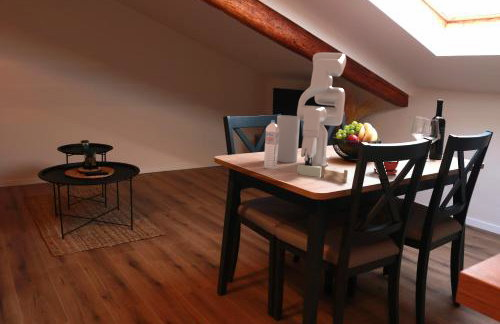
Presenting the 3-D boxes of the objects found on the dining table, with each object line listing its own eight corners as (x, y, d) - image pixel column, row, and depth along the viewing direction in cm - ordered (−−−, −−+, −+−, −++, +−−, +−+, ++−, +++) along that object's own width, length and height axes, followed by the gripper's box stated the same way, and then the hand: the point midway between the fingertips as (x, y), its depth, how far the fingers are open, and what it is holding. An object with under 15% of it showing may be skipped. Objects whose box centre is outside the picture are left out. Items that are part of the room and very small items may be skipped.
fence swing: (320, 176, 200) (320, 167, 199) (319, 177, 199) (319, 168, 198) (297, 173, 205) (298, 164, 204) (296, 173, 204) (297, 164, 203)
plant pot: (392, 170, 224) (394, 148, 222) (401, 176, 212) (404, 153, 209) (367, 169, 224) (370, 147, 222) (375, 175, 211) (378, 152, 209)
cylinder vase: (297, 163, 231) (301, 118, 226) (275, 162, 231) (277, 117, 226) (295, 159, 243) (299, 116, 238) (274, 158, 243) (277, 115, 238)
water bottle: (260, 168, 216) (263, 119, 210) (270, 166, 220) (273, 119, 215) (269, 171, 211) (272, 121, 205) (279, 169, 215) (282, 120, 210)
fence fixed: (319, 177, 199) (320, 165, 198) (321, 177, 200) (323, 164, 199) (345, 183, 190) (346, 170, 188) (347, 183, 191) (348, 170, 190)
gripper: (307, 131, 209) (305, 167, 213) (298, 134, 196) (295, 172, 199) (322, 132, 206) (319, 169, 210) (313, 136, 193) (310, 175, 196)
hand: (307, 170), depth 205 cm, fingers closed
